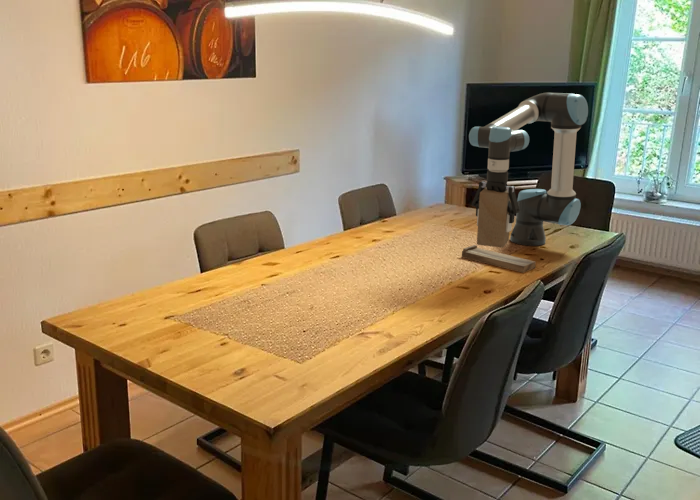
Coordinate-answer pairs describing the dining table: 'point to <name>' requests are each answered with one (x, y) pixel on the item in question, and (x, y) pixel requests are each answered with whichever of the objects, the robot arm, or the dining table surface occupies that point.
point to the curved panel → (498, 259)
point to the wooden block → (493, 218)
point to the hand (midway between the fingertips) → (493, 228)
